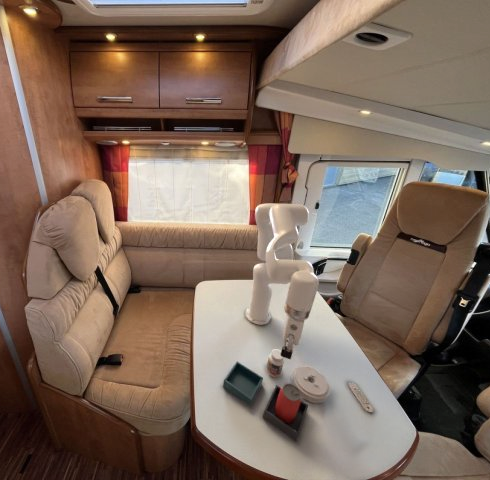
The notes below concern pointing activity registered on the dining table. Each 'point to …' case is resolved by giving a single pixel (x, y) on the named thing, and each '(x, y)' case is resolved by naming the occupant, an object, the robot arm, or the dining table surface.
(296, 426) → the can bin
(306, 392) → the lid
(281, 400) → the beer can
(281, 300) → the dining table surface
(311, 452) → the dining table surface
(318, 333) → the dining table surface
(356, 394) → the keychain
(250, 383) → the pill bin
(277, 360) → the pill bottle
